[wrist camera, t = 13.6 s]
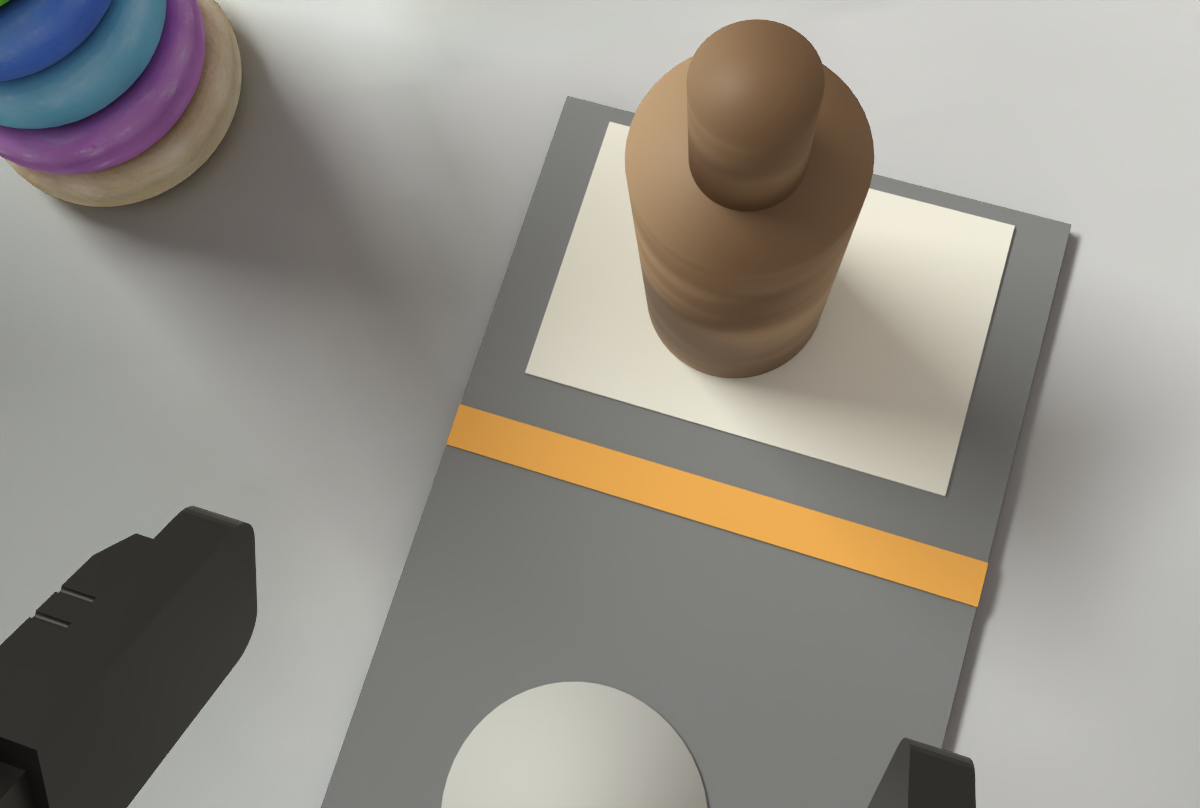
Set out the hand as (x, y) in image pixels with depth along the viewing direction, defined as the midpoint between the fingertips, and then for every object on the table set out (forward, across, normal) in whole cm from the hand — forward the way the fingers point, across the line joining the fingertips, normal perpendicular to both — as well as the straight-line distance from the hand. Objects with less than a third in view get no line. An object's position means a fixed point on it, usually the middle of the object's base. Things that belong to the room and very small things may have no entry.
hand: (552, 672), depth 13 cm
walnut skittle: (+19, 0, +4) cm, 19 cm away
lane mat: (+14, -1, +10) cm, 17 cm away
